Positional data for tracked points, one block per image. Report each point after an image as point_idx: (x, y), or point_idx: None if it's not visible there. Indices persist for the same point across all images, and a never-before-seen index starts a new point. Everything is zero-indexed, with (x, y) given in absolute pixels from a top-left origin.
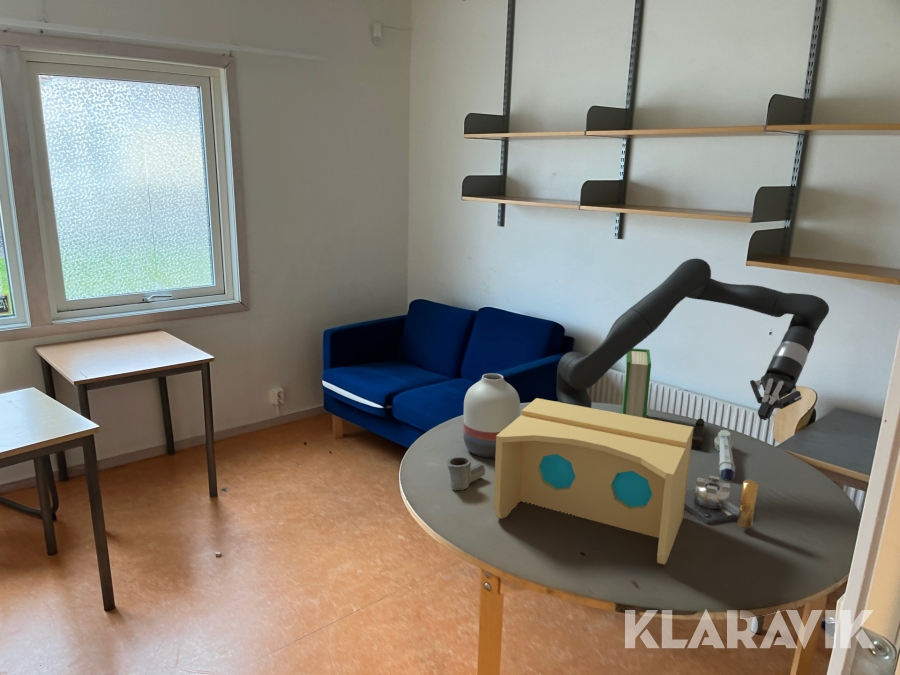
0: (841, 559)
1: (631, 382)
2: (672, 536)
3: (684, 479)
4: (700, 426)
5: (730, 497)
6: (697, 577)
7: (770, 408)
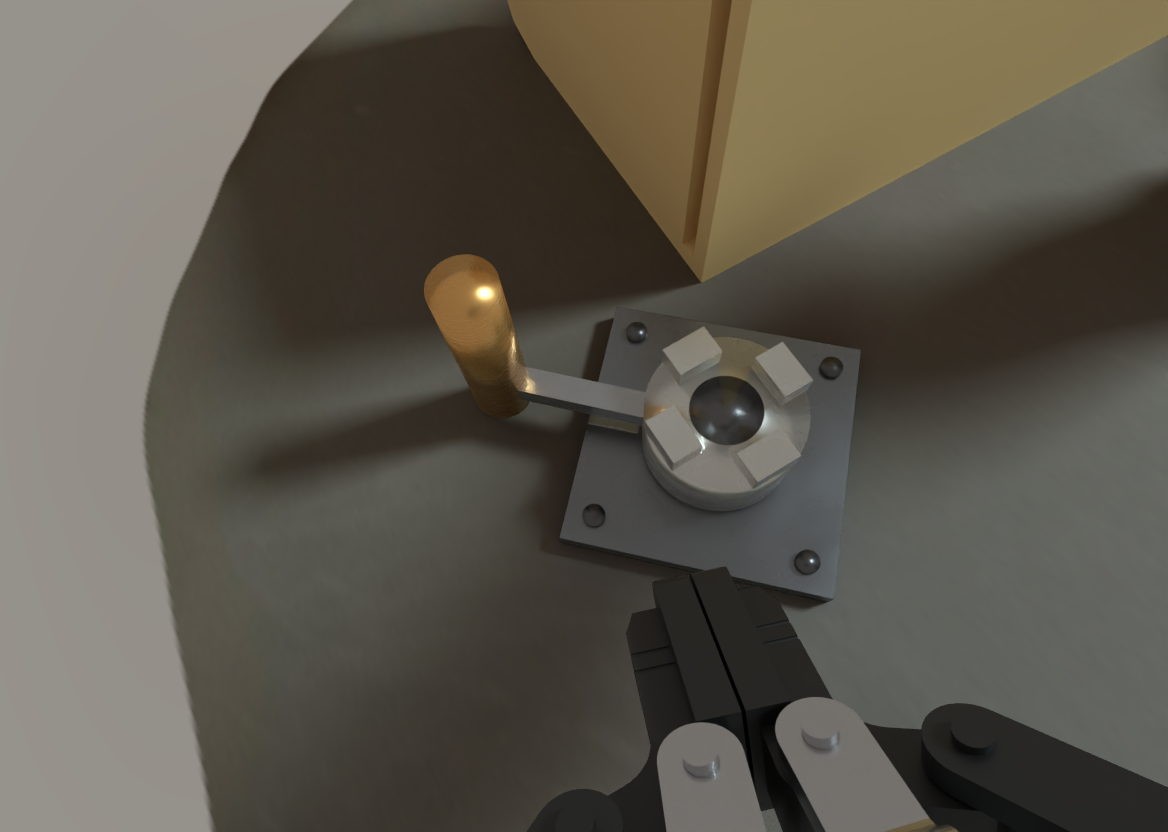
0: (165, 542)
1: None
2: (567, 67)
3: (658, 40)
4: None
5: (701, 560)
6: (433, 75)
7: (663, 702)
